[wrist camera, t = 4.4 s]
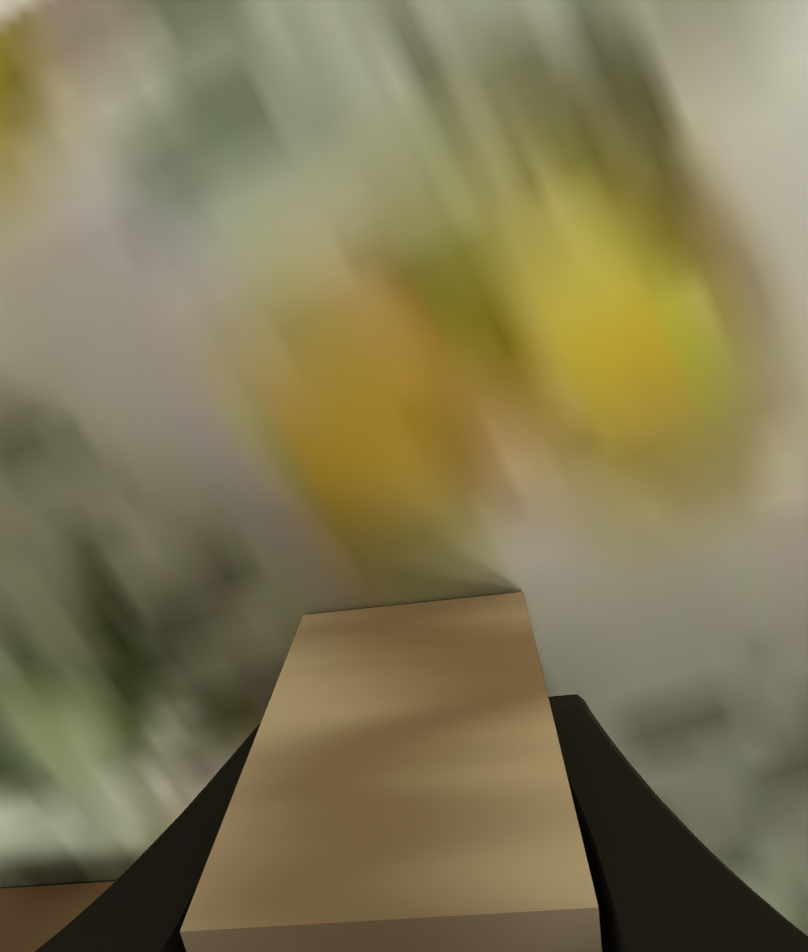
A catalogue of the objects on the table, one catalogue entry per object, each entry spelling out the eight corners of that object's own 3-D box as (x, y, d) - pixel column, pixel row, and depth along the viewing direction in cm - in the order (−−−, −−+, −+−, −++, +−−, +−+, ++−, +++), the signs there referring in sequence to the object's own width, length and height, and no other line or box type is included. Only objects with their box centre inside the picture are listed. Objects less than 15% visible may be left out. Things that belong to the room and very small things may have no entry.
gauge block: (522, 591, 12) (621, 1001, 5) (542, 774, 13) (641, 1288, 6) (303, 614, 12) (144, 1021, 6) (341, 789, 13) (247, 1288, 7)
